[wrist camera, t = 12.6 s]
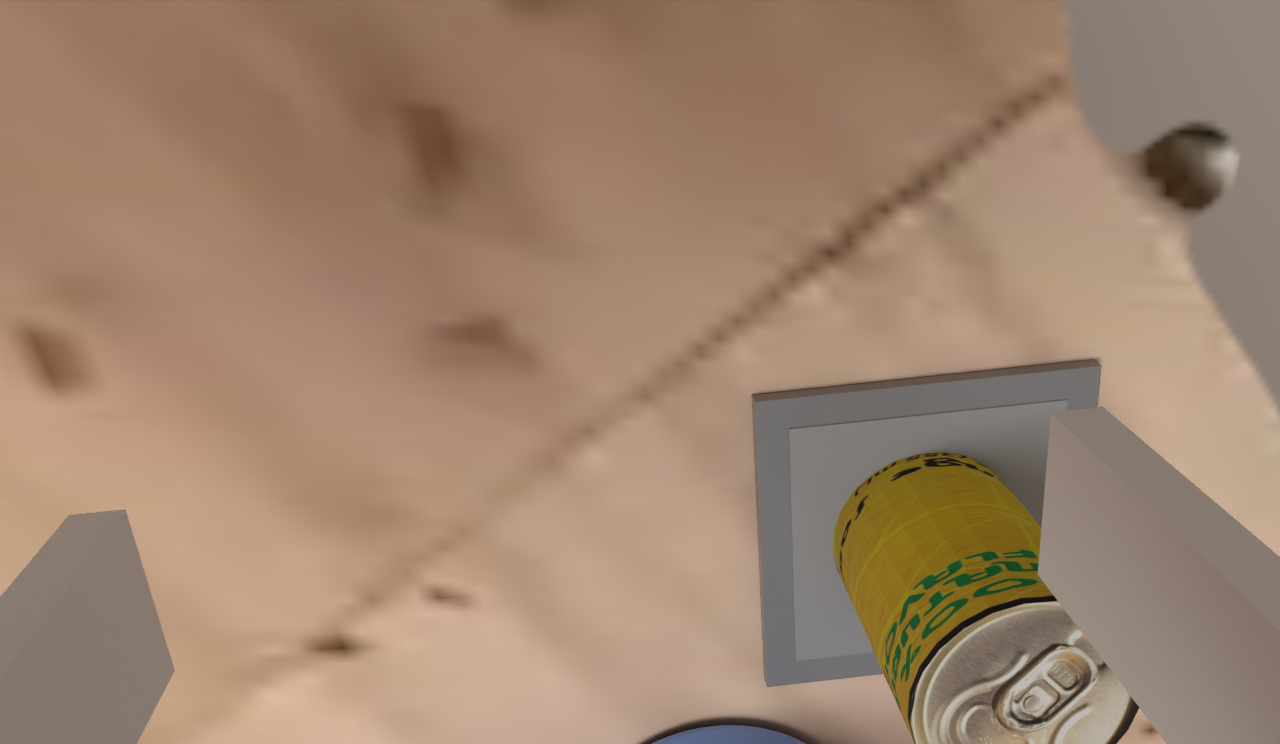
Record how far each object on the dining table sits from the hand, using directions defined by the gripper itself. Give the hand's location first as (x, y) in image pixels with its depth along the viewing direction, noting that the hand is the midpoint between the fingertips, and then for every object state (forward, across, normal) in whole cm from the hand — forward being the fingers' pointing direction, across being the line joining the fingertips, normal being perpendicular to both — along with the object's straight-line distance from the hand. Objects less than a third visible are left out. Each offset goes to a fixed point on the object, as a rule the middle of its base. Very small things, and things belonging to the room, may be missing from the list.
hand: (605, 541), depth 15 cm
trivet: (+30, +15, -20) cm, 39 cm away
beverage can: (+30, +15, -20) cm, 39 cm away
